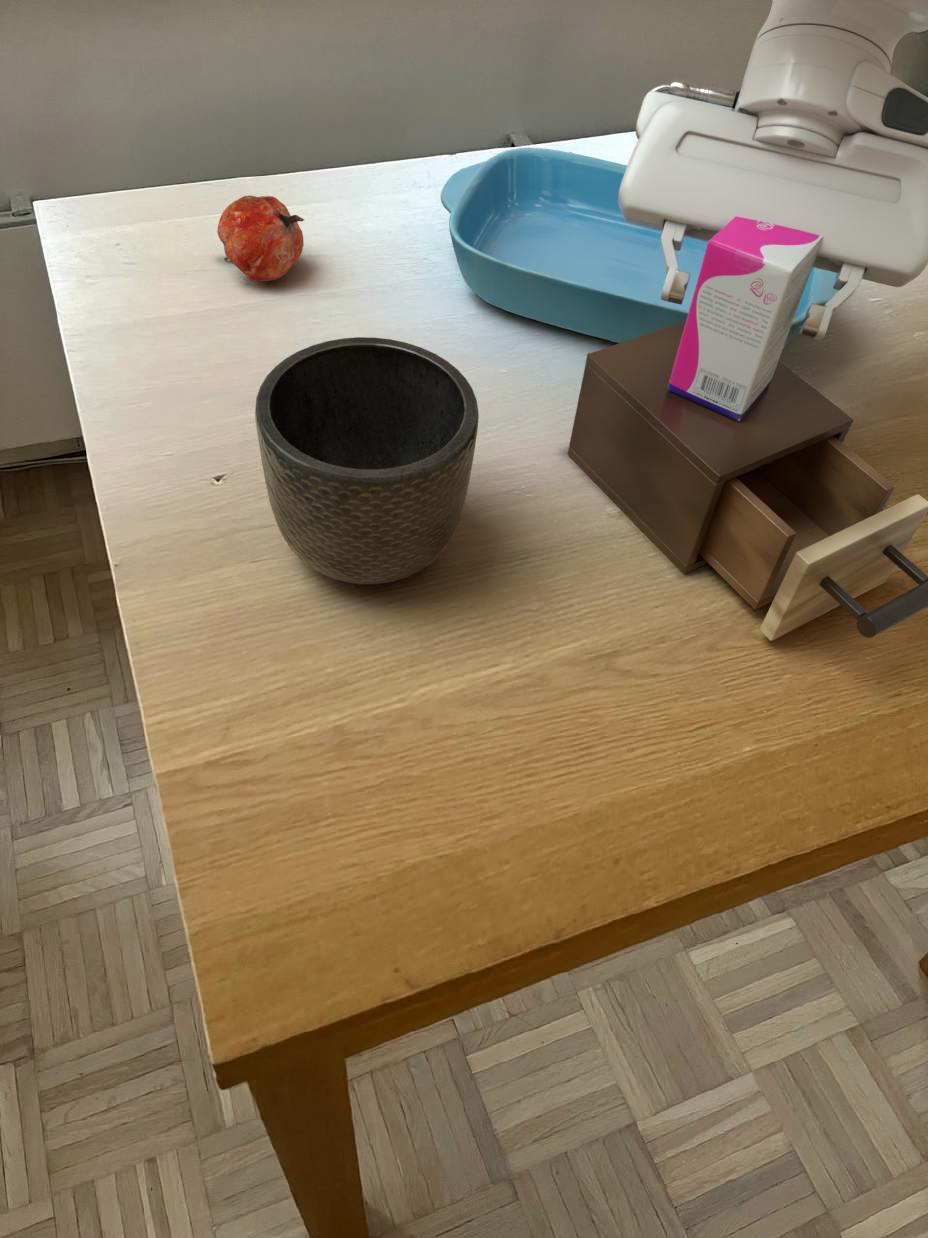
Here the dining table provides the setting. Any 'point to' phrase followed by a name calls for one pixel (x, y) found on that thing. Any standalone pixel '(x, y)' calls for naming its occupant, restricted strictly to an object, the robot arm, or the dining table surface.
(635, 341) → the cabinet
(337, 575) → the planter
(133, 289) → the dining table surface
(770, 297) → the supplement box
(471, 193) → the casserole dish
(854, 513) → the drawer
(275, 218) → the pomegranate
